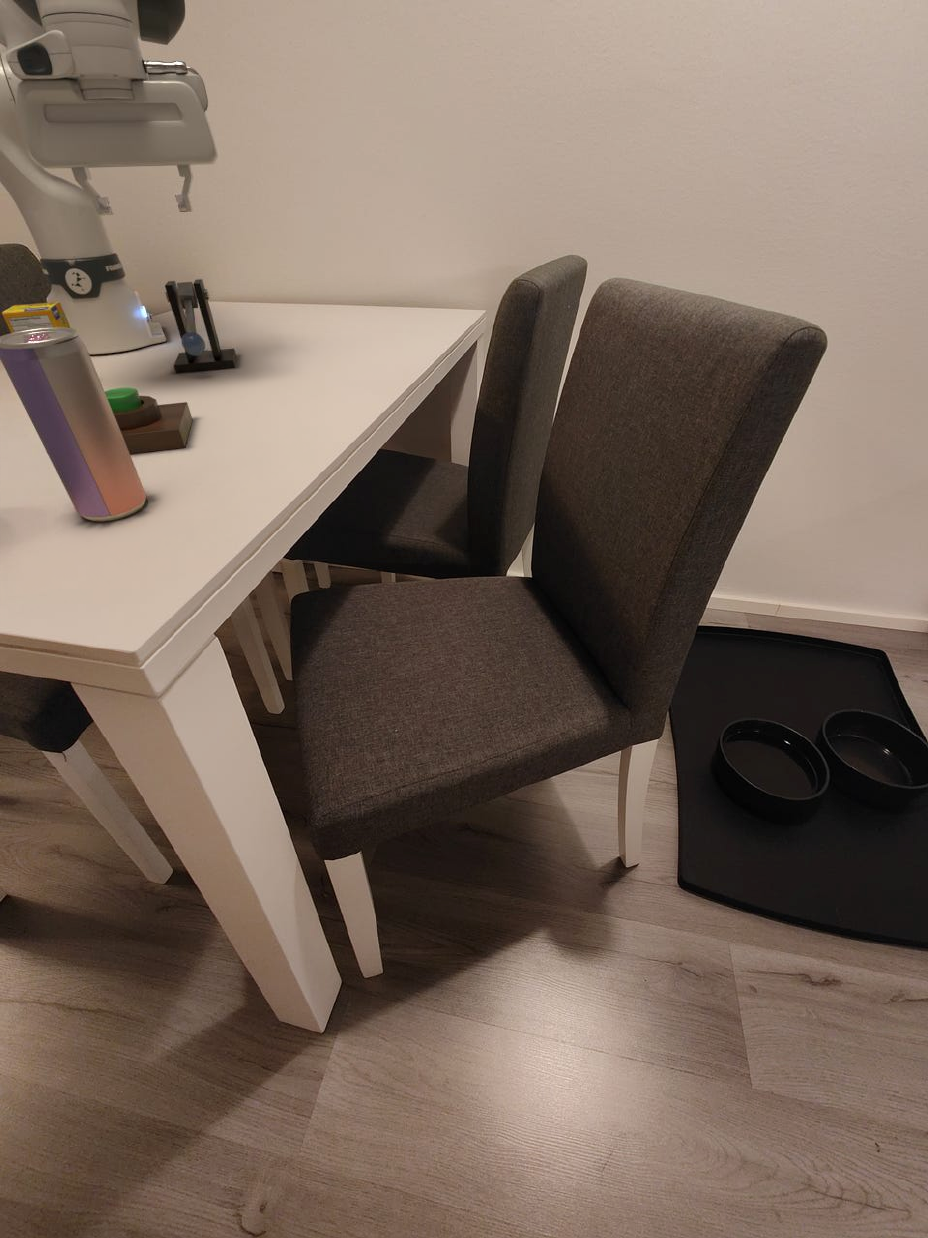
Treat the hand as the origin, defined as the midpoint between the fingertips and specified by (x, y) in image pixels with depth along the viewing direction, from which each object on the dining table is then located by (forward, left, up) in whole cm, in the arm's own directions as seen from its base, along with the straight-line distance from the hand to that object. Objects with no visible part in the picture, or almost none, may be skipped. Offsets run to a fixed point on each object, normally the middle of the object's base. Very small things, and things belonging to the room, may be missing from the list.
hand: (146, 213), depth 71 cm
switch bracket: (-13, 0, -21) cm, 24 cm away
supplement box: (-6, -19, -21) cm, 29 cm away
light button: (+20, -6, -17) cm, 27 cm away
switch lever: (-9, 0, -15) cm, 17 cm away
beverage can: (+39, -5, -21) cm, 45 cm away
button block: (+20, -6, -21) cm, 30 cm away
